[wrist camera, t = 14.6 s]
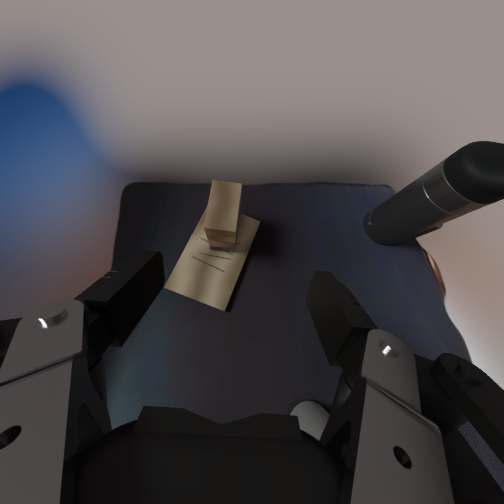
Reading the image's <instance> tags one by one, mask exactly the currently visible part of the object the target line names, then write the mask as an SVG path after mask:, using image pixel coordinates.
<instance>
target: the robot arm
mask: <svg viewBox="0 0 504 504" xmlns="http://www.w3.org/2000/svg"><path fill="white" fill-rule="evenodd" d="M502 199H504V144H502V143H496V142H489V141H478V142H473V143H470V144H468V145H466V146H464V147H462V148H461V149H459V150H457V151H456V152H455V153H453V154H452V155H450V156H449V157H448V158H446V159H445V160H443V161H442V162H441V163H439V164H438V165H436V166H435V167H433V168H432V169H431V170H429V171H428V172H426V173H425V174H424V175H422V176H421V177H419V178H418V179H416V180H415V181H414V182H412V183H411V184H409V185H408V186H406V187H405V188H404V189H402V190H401V191H399V192H398V193H396V194H395V195H393V196H392V197H391V198H389V199H388V200H386V201H385V202H383V203H382V204H381V205H379V206H378V207H376V208H375V209H373V210H372V211H371V212H369V213H368V214H367V215H366V216H365V219H364V228H365V230H366V232H367V234H368V235H369V236H370V238H372V239H373V240H374V241H376V242H377V243H380V244H383V245H390V244H397V245H398V244H401V243H403V242H406V241H409V240H411V239H414V238H416V237H419V236H422V235H424V234H427V233H429V232H432V231H434V230H437V229H439V228H441V227H442V225H443V223H445V222H447V221H450V220H452V219H455V218H457V217H460V216H462V215H465V214H467V213H469V212H471V211H474V210H477V209H479V208H482V207H484V206H486V205H489V204H491V203H494V202H497V201H499V200H502ZM164 281H165V275H164V266H163V257H162V253H161V252H157V251H149V250H143V251H141V252H140V253H139V254H138V255H136V256H135V257H134V258H133V259H132V258H131V259H128V260H126V261H124V262H121V263H119V264H118V265H117V266H115V267H114V268H113V269H111V271H110V272H108V273H107V274H105V275H104V276H103V277H101V278H100V279H99V280H97V281H96V282H95V283H94V284H92V285H91V286H90V287H89V288H87V289H86V290H85V291H83V292H82V293H81V294H80V295H78V296H77V297H76V298H75V299H73V300H72V299H68V300H60V301H55V302H52V303H49V304H46V305H44V306H41V307H39V308H37V309H35V310H33V311H32V312H30V313H29V314H27V315H26V316H25V317H24V318H18V319H10V320H2V321H0V504H504V492H503V491H502V489H501V488H500V486H499V485H498V484H497V482H496V481H495V480H494V478H493V477H492V475H491V474H490V473H489V471H488V470H487V469H486V467H485V466H484V464H483V463H482V462H481V460H480V459H479V457H478V456H477V455H476V453H475V452H474V451H473V449H472V448H471V446H470V445H469V444H468V442H467V441H466V440H465V438H464V437H463V435H462V434H461V433H460V431H459V430H458V429H457V428H458V427H460V426H461V425H463V424H465V423H466V422H468V421H470V423H471V424H472V425H473V427H474V428H475V429H476V430H477V432H478V433H479V434H480V435H481V437H482V438H483V439H484V440H485V442H486V443H487V444H488V446H489V447H490V448H491V449H492V451H493V452H494V453H495V454H496V456H497V457H498V458H499V459H500V461H501V462H502V463H503V464H504V390H503V389H502V388H501V387H499V385H498V384H496V383H495V382H494V381H493V380H492V379H491V378H490V377H489V376H488V375H487V374H486V373H484V372H483V371H482V370H481V369H479V368H478V367H477V366H475V365H474V364H472V363H470V362H469V361H467V360H465V359H463V358H461V357H459V356H456V355H453V354H449V353H443V354H441V355H440V356H439V357H438V358H437V359H436V360H435V361H432V360H430V359H427V358H424V357H421V356H418V355H416V354H413V353H412V351H411V350H410V349H409V347H408V346H407V345H406V344H405V343H403V342H402V341H401V340H400V339H399V338H397V337H396V336H394V335H392V334H390V333H388V332H386V331H383V330H379V329H378V328H377V326H376V325H375V324H374V322H373V321H372V320H371V318H370V317H369V316H368V314H367V313H366V312H365V310H364V309H363V308H362V306H361V305H360V304H359V302H358V301H357V299H355V297H354V295H353V294H352V293H351V291H350V290H349V289H348V288H346V287H345V286H344V285H343V284H341V283H339V282H338V281H337V279H336V278H335V276H334V275H333V274H332V273H331V272H324V271H316V272H315V273H314V275H313V278H312V280H311V283H310V286H309V289H308V291H307V295H306V303H307V306H308V309H309V312H310V314H311V317H312V320H313V322H314V325H315V327H316V330H317V333H318V335H319V338H320V341H321V343H322V346H323V349H324V351H325V354H326V356H327V359H328V362H329V364H330V365H331V366H341V368H342V370H343V373H342V374H341V376H340V379H339V383H338V387H337V390H336V394H335V397H334V401H333V404H332V408H331V412H330V415H329V418H328V421H327V424H326V426H325V428H324V430H323V432H322V435H321V437H320V440H317V439H316V438H315V437H313V436H312V435H310V434H308V433H307V432H305V431H303V430H301V429H300V426H299V420H298V416H295V415H280V414H264V413H261V414H257V415H254V416H250V417H247V418H243V419H240V420H236V421H233V422H229V423H226V424H219V423H216V422H213V421H211V420H209V419H207V418H204V417H202V416H200V415H197V414H195V413H193V412H190V411H188V410H186V409H183V408H169V407H153V406H143V408H142V411H141V413H140V415H139V417H138V420H134V421H131V422H129V423H126V424H124V425H121V426H119V427H117V428H115V429H113V430H112V427H111V422H110V417H109V413H108V408H107V396H106V377H105V359H104V355H103V353H104V352H105V350H106V349H107V348H108V346H114V347H122V346H123V344H124V343H125V341H126V340H127V338H128V337H129V336H130V334H131V333H132V331H133V330H134V328H135V327H136V325H137V324H138V323H139V321H140V320H141V318H142V317H143V315H144V314H145V313H146V311H147V310H148V308H149V307H150V305H151V304H152V302H153V301H154V300H155V298H156V297H157V295H158V294H159V292H160V291H161V289H162V288H163V285H164Z"/></svg>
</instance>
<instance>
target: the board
mask: <svg viewBox="0 0 504 504" xmlns="http://www.w3.org/2000/svg"><path fill="white" fill-rule="evenodd" d="M207 207H208V206H207ZM206 212H207V208H206V210H205V212H204V214H203V215H202V217H201V219H200V221H199V223H198V225H197V227H196V229H195V230H194V232H193V234H192V236H191V238H190V240H189V242H188V244H187V246H186V247H185V249H184V251H183V253H182V255H181V257H180V259H179V261H178V262H177V264H176V266H175V268H174V270H173V272H172V274H171V276H170V277H169V279H168V281H167V283H166V285H165V287H164V288H167V289H169V290H172V291H174V292H177V293H179V294H182V295H184V296H187V297H190V298H192V299H195V300H197V301H200V302H202V303H205V304H207V305H210V306H213V307H215V308H218V309H220V310H223V311H225V309H226V307H227V304H228V302H229V299H230V297H231V294H232V292H233V289H234V287H235V284H236V282H237V279H238V277H239V274H240V272H241V269H242V267H243V264H244V262H245V259H246V257H247V254H248V252H249V249H250V247H251V244H252V242H253V239H254V237H255V234H256V231H257V229H258V226H259V224H260V221H258V220H255V219H253V218H250V217H248V216H245V215H242V214H240V217H239V225H238V233H237V241H236V249H235V252H226V251H218V250H210V247H209V242H208V239H207V236H206V233H205V231H204V223H205V218H206Z"/></svg>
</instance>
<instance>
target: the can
mask: <svg viewBox="0 0 504 504" xmlns="http://www.w3.org/2000/svg"><path fill="white" fill-rule="evenodd" d="M290 415H295V416H298V420H299V426H300V429H301V430H303V431H305V432H307V433H308V434H310V435H312V436H313V437H315V438H316V439H317V440H320V437H321V435H322V432H323V430H324V428H325V426H326V424H327V421H328V418H329V414H328V413H327V412H326V411H325V409H324V408H323V407H322V406H321V405H319V404H317V403H316V402H313V401H305V402H301V403H300V404H298V405H297V406H296V407H295V408H294V409H293V411H292V412H291V414H290Z"/></svg>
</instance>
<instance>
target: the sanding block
mask: <svg viewBox="0 0 504 504" xmlns="http://www.w3.org/2000/svg"><path fill="white" fill-rule="evenodd" d="M241 188H242V184H239V183H232V182H225V181H218V180H213V182H212V187H211V192H210V197H209V202H208V207H207V212H206V218H205V223H204V231H205V233H206V236H207V239H208V242H209V247H210V250H218V251H226V252H235V249H236V241H237V233H238V225H239V217H240V201H241Z"/></svg>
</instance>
